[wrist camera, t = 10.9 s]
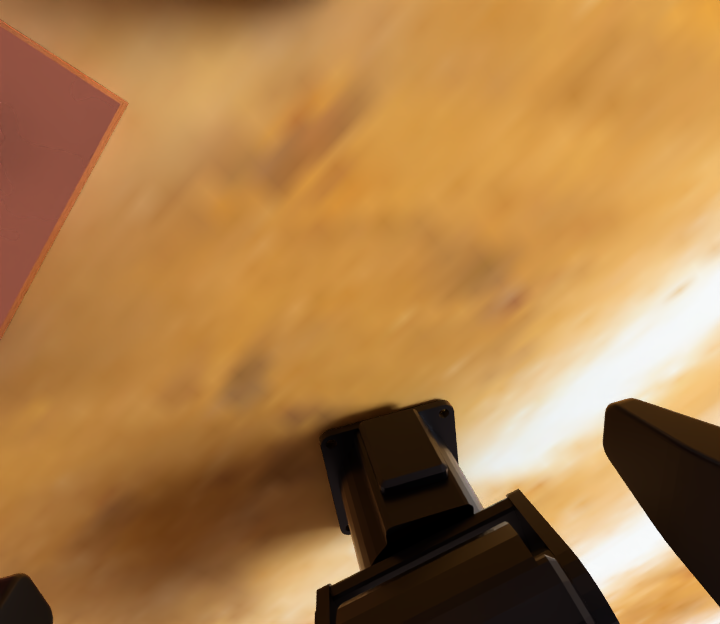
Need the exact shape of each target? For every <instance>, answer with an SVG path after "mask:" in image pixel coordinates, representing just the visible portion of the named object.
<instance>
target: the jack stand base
mask: <svg viewBox="0 0 720 624" xmlns="http://www.w3.org/2000/svg"><path fill="white" fill-rule="evenodd" d="M127 105H128V102H126V101H124V100H123V99H121V98H120V97H118V96H117V95H115V94H114V93H112V92H111V91H109V90H108V89H106V88H105V87H103V86H101V85H100V84H98V83H97V82H95V81H94V80H92V79H91V78H89V77H88V76H86V75H85V74H83V73H81V72H80V71H78V70H77V69H75V68H74V67H72V66H71V65H69V64H68V63H66V62H65V61H63V60H62V59H60V58H58V57H57V56H55V55H54V54H52V53H51V52H49V51H48V50H46V49H45V48H43V47H42V46H40V45H39V44H37V43H35V42H34V41H32V40H31V39H29V38H28V37H26V36H25V35H23V34H22V33H20V32H19V31H17V30H15V29H14V28H12V27H11V26H9V25H8V24H6V23H5V22H3V21H2V20H0V340H1V338H2V336H3V334H4V333H5V331H6V329H7V327H8V325H9V323H10V321H11V320H12V318H13V316H14V314H15V312H16V310H17V308H18V307H19V305H20V303H21V301H22V299H23V297H24V296H25V294H26V292H27V290H28V288H29V286H30V284H31V283H32V281H33V279H34V277H35V275H36V273H37V271H38V270H39V268H40V266H41V264H42V262H43V260H44V259H45V257H46V255H47V253H48V251H49V249H50V247H51V246H52V244H53V242H54V240H55V238H56V236H57V234H58V233H59V231H60V229H61V227H62V225H63V223H64V221H65V220H66V218H67V216H68V214H69V212H70V210H71V209H72V207H73V205H74V203H75V201H76V199H77V197H78V196H79V194H80V192H81V190H82V188H83V186H84V184H85V183H86V181H87V179H88V177H89V175H90V173H91V172H92V170H93V168H94V166H95V164H96V162H97V160H98V159H99V157H100V155H101V153H102V151H103V149H104V147H105V146H106V144H107V142H108V140H109V138H110V136H111V135H112V133H113V131H114V129H115V127H116V125H117V123H118V122H119V120H120V118H121V116H122V114H123V112H124V110H125V109H126V107H127Z"/></svg>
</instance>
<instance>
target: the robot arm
mask: <svg viewBox="0 0 720 624" xmlns="http://www.w3.org/2000/svg"><path fill="white" fill-rule="evenodd" d="M443 409H446V410H445V411H444V412H442V413H439V412H440V411H441V410H443ZM329 440H335V441H334V442H332V443H327V442H328V441H329ZM320 445H321V450H322V454H323V458H324V462H325V466H326V470H327V475H328V479H329V483H330V487H331V491H332V495H333V500H334V504H335V508H336V512H337V516H338V520H339V525H340V529H341V531H342V533H343V534H346V535H351V536H352V540H353V544H354V548H355V552H356V556H357V560H358V564H359V568H360V572H358V573H356V574H354V575H352V576H350V577H348V578H346V579H344V580H342V581H340V582H338V583H336V584H334V585H331V584H328V585H326V586H324V587H322V588H320V589H318V590H317V595H316V611H315V624H620V623H619V621H618V620H617V618H616V616H615V614H614V613H613V611H612V609H611V607H610V606H609V604H608V602H607V601H606V599H605V597H604V596H603V594H602V592H601V591H600V589H599V588H598V586H597V585H596V583H595V582H594V580H593V579H592V577H591V576H590V574H589V573H588V571H587V570H586V568H585V567H584V566H583V564H582V563H581V561H580V560H579V559H578V557H577V556H576V555H575V554H574V552H573V551H572V550H571V549H570V548H569V546H568V545H567V544H566V543H565V542H564V541H563V539H562V538H561V537H560V536H559V535H558V534H557V533H556V531H555V530H554V529H553V528H552V527H551V526H550V525H549V523H548V522H547V521H546V520H545V519H544V518H543V516H542V515H541V514H540V513H539V512H538V511H537V510H536V508H535V507H534V506H533V505H532V504H531V503H530V501H529V500H528V499H527V498H526V497H525V496H524V495H523V493H522V492H521V491H520V490H519V489H517V490H515V491H513V492H511V493H509V494H507V495H506V497H507V498H505V499H503V500H501V501H499V502H497V503H495V504H493V505H491V506H489V507H487V508H485V509H484V508H483V506H482V504H481V503H480V501H479V499H478V498H477V496H476V494H475V492H474V491H473V489H472V487H471V486H470V484H469V482H468V481H467V479H466V477H465V475H464V474H463V472H462V470H461V469H460V467H459V465H458V454H457V442H456V430H455V418H454V410H453V407H452V406H451V404H450V403H449V402H448V401H446V400H440V401H436V402H432V403H428V404H425V405H421V406H417V407H413V408H410V409H406V410H402V411H399V412H395V413H391V414H387V415H384V416H380V417H376V418H372V419H369V420H365V421H361V422H358V423H354V424H350V425H346V426H343V427H339V428H335V429H332V430H328V431H326V432H324V433H323V434H322V435H321V436H320ZM603 447H604V450H605V453H606V455H607V457H608V459H609V460H610V462H611V463H612V465H613V466H614V467H615V469H616V470H617V472H618V473H619V475H620V476H621V478H622V479H623V481H624V482H625V484H626V485H627V486H628V488H629V489H630V491H631V492H632V494H633V495H634V497H635V498H636V500H637V501H638V502H639V504H640V505H641V507H642V508H643V510H644V511H645V513H646V514H647V516H648V517H649V519H650V520H651V521H652V523H653V524H654V526H655V527H656V529H657V530H658V531H659V533H660V534H661V536H662V537H663V538H664V540H665V541H666V542H667V543H668V545H669V546H670V547H671V548H672V550H673V551H674V552H675V554H676V555H677V556H678V557H679V558H680V560H681V561H682V562H683V563H684V564H685V566H686V567H687V568H688V569H689V570H690V572H691V573H692V574H693V575H694V576H695V578H696V579H697V580H698V581H699V582H700V584H701V585H702V586H703V587H704V589H705V590H706V591H707V592H708V593H709V595H710V596H711V597H712V598H713V599H714V601H715V602H716V603H717V604H718V605H719V607H720V427H719V426H716V425H713V424H710V423H707V422H704V421H701V420H698V419H695V418H692V417H689V416H686V415H683V414H680V413H677V412H674V411H671V410H668V409H665V408H662V407H659V406H656V405H653V404H650V403H647V402H644V401H641V400H638V399H634V398H628V399H624V400H621V401H617V402H614V403H611V404H609V405H608V406H607V408H606V411H605V421H604V433H603ZM0 624H53V616H52V611H51V608H50V606H49V605H48V603H47V602H46V600H45V599H44V597H43V596H42V594H41V593H40V592H39V590H38V589H37V587H36V586H35V584H34V583H33V581H32V580H31V578H30V577H29V576H28V575H26V574H23V573H18V574H14V575H10V576H7V577H3V578H0Z"/></svg>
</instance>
